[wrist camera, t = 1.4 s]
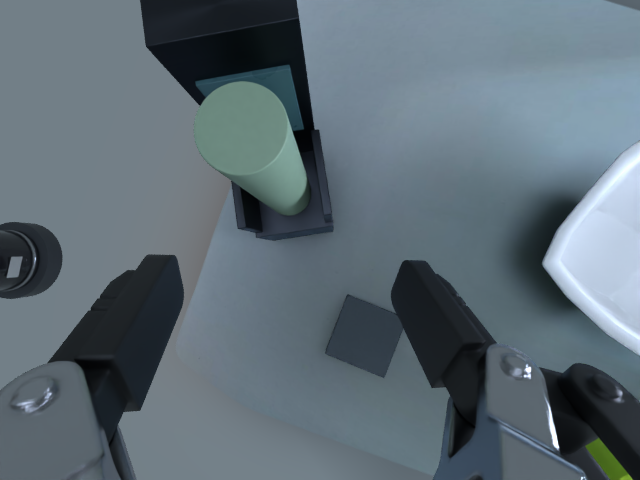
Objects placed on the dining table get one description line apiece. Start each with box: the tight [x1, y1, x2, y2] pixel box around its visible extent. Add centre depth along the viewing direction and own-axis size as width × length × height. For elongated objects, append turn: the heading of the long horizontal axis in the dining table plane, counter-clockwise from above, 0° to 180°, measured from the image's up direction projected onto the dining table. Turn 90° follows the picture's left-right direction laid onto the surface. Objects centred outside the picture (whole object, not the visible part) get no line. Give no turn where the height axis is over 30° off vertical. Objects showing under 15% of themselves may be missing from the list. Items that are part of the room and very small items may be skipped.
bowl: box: [542, 140, 640, 356], centre depth 33 cm, size 22×23×8 cm
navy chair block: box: [140, 0, 333, 240], centre depth 26 cm, size 12×9×26 cm
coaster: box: [325, 295, 403, 378], centre depth 37 cm, size 9×9×1 cm
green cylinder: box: [194, 81, 311, 216], centre depth 22 cm, size 5×5×16 cm
